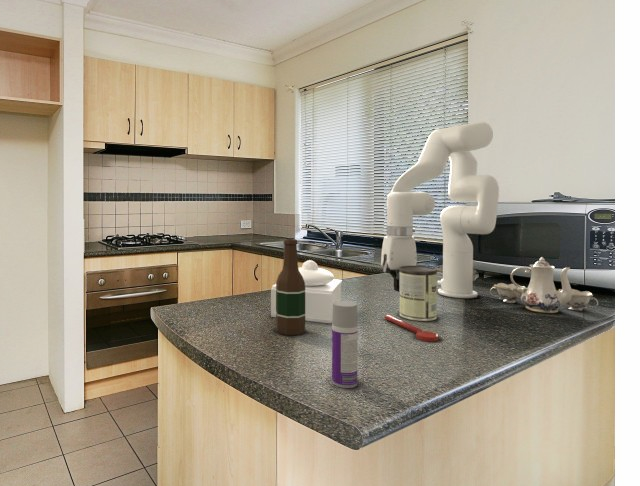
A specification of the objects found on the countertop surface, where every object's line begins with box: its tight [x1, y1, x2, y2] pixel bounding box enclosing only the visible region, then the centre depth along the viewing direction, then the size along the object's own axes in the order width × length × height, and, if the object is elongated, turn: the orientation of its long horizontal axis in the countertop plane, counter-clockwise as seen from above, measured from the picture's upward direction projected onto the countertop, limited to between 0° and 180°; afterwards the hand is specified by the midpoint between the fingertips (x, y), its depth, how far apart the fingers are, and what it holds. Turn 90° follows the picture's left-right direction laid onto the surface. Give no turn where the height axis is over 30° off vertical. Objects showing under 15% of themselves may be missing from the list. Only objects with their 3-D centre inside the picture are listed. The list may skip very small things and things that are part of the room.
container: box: [331, 300, 359, 389], centre depth 82 cm, size 5×5×15 cm
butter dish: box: [270, 259, 343, 324], centre depth 132 cm, size 18×18×16 cm
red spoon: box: [384, 314, 439, 342], centre depth 115 cm, size 20×5×1 cm, turn 15°
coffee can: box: [398, 265, 438, 322], centre depth 127 cm, size 10×10×14 cm
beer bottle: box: [275, 238, 306, 336], centre depth 113 cm, size 8×8×24 cm
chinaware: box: [489, 256, 599, 314], centre depth 137 cm, size 28×17×17 cm, turn 62°
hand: (399, 291), depth 135 cm, fingers closed
